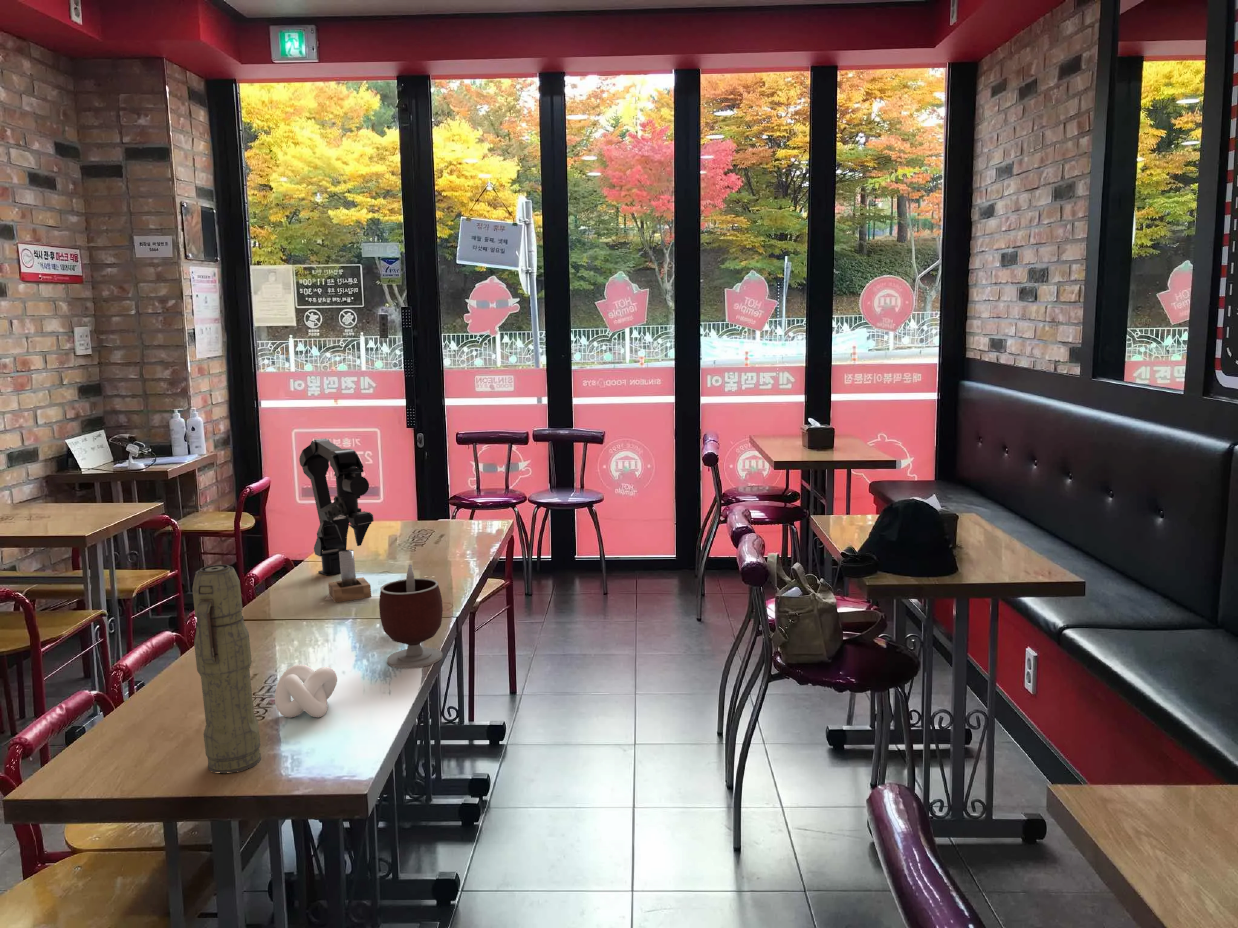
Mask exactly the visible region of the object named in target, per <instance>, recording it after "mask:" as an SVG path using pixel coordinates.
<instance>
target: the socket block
mask: <svg viewBox="0 0 1238 928" xmlns="http://www.w3.org/2000/svg"><path fill="white" fill-rule="evenodd" d="M327 587H328V595H329V596H330V597H331V599H332V600H333V602H334V603H340V602H347V601H354V600H359V599H366V598H371V597H372V589H371V584H370V583H369V582H368V581H367V579H366V578H365V577H356V585H354V586H348V587H342V581H341V580H337V581H331V582H329V581H328V582H327Z"/></svg>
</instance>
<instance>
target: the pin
mask: <svg viewBox="0 0 1238 928" xmlns="http://www.w3.org/2000/svg"><path fill="white" fill-rule="evenodd" d="M339 558H340V570H341V573H340V581H342V587H348V586H354V585H356V578H357V574H356V573H357V572H356V565H355V564H356V563H355V553H354V549H346V550H342V551H339Z"/></svg>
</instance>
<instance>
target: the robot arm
mask: <svg viewBox="0 0 1238 928" xmlns="http://www.w3.org/2000/svg"><path fill="white" fill-rule="evenodd" d="M298 461H299V465H300V467H301V468H302V472H303V474H304V475H305V476H306V477H307V478H308V479H309V480H310V483H311V488H312V493H313V497H314V502H315V506H316V511H317V517H318V519H319V520H318V521H319V526H318V530H317V531H316V540H315V544H314V546H313V550H314V551H313V552H314V555H315V556H317V557H320V558H321V567H322V568H321V570H318V571H317V573H319V574H322V575H324V576H332V575H336V574H341V570H340V558H339V551H342V550H347V547H348V545H347V544H348V542H347V541H348V532H349V527H351V528H352V529H353V532H354V537H355V538H354V539H355V543H356V546H358V547H361V546H362V544H363V541H364V539H365V535H366V533H367V532H368V529H369V527H370V525H372V522H374V514H373V513H371V512H369V511H362V508H360V507H359V499H361V497H362V496H364V495H366V494H367V492H369V491H368V490H369V489H370V483H369V481H368V479H367V478H366V477H365V476H363V475H362V473H364V471H365V470H364V464H363V463H362V460H361V459H360V456H359V454H358V453H357V452H356V451H355V449H353V448H342V447H340V446H338V445H336V444H334V443H333V442H331V441H330V440H329V439H327V438H318V439H314V440H311V442H310V444H308V445H307V446H305V448H304V449H302V450H301V453H300V455H299V459H298ZM330 467H331V469H332V470H333V476H334V477H335V483H336V485H335V486H336V496H335V495H334V497H333V502H332V498H331V494H330V489H329V485H328V481H327V473H328V471H329V468H330Z"/></svg>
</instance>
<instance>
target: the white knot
mask: <svg viewBox="0 0 1238 928" xmlns="http://www.w3.org/2000/svg"><path fill="white" fill-rule="evenodd" d="M337 684H338V677H337V673H336V671H335V670H334V669H333V668H331V667H328V666H326V667H325V666H324V667H323V666H322V667H319V668H317V669H315V670H314V669H313V668H311V667H310V666H308V665H306V664H300V663H299V664H294V665H292V666H290V667H289V668H287V669H286V670H285V671H284V672H283V673H282V674H281V676H280V678H279V680H278V682H277V684H276V688H275V693H274V703H275V707H276V709H277V711H278V712H279V714H280V715H282V716H283V717H285V718H296V717H298V716H299V715H301V714H302V713H303V712H305V713H306V714H308V715H309V716H311V717H314V718H321V717H323V716H325V714H326V713H327V711H328V699H329V698H330V697H331V696H332V694H333V693H334V692H335V689H336V686H337ZM292 699H293V700H292Z"/></svg>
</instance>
